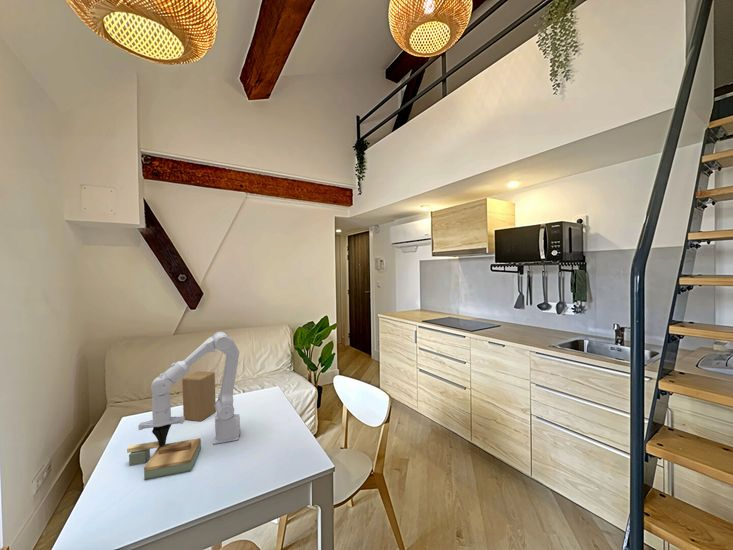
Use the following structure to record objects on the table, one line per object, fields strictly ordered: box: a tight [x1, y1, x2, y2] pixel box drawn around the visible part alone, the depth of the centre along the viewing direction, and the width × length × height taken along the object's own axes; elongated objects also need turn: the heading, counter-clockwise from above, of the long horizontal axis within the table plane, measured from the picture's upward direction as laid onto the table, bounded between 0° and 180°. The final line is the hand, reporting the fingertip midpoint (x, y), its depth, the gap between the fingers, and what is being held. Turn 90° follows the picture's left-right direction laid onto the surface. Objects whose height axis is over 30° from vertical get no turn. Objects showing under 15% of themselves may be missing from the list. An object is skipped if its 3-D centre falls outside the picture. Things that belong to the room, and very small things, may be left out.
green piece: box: [143, 440, 202, 481], centre depth 109 cm, size 14×14×3 cm
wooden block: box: [181, 370, 217, 422], centre depth 144 cm, size 10×10×20 cm
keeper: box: [128, 449, 151, 467], centre depth 110 cm, size 5×4×4 cm
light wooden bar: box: [126, 440, 160, 454], centre depth 110 cm, size 10×2×2 cm, turn 107°
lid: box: [143, 437, 202, 472], centre depth 109 cm, size 14×14×2 cm
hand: (162, 444), depth 112 cm, fingers closed
